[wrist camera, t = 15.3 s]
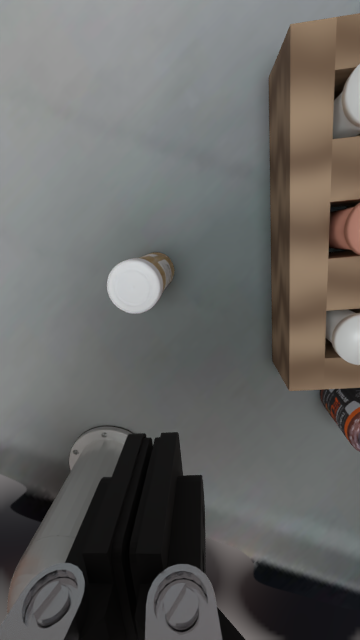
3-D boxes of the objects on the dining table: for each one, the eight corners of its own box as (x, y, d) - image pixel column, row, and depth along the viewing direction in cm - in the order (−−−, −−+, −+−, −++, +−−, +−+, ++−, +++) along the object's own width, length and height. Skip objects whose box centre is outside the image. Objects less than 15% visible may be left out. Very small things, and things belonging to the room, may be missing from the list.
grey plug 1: (349, 155, 32) (411, 120, 23) (303, 160, 33) (345, 128, 23) (352, 104, 31) (419, 44, 21) (304, 111, 32) (349, 54, 22)
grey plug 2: (340, 331, 37) (388, 363, 28) (301, 333, 38) (335, 366, 28) (342, 293, 36) (393, 313, 27) (301, 296, 37) (337, 317, 27)
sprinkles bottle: (144, 247, 37) (113, 251, 24) (179, 259, 37) (167, 269, 24) (134, 282, 38) (99, 304, 25) (168, 293, 38) (151, 322, 25)
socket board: (368, 356, 38) (410, 385, 31) (272, 361, 39) (289, 390, 32) (390, 59, 30) (455, -2, 22) (268, 77, 31) (290, 24, 24)
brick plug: (351, 250, 33) (411, 255, 24) (306, 254, 34) (348, 260, 24) (353, 205, 32) (417, 190, 23) (307, 209, 33) (351, 197, 23)
